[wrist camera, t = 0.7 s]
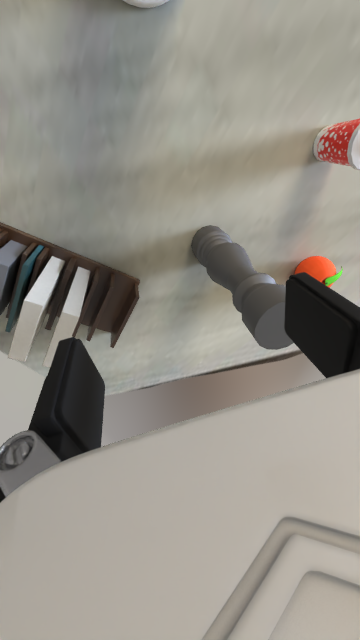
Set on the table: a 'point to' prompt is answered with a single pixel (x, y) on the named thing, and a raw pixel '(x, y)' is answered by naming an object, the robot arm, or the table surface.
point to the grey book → (9, 270)
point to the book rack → (101, 293)
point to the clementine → (319, 269)
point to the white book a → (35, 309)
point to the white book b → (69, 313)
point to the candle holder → (244, 286)
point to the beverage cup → (339, 144)
